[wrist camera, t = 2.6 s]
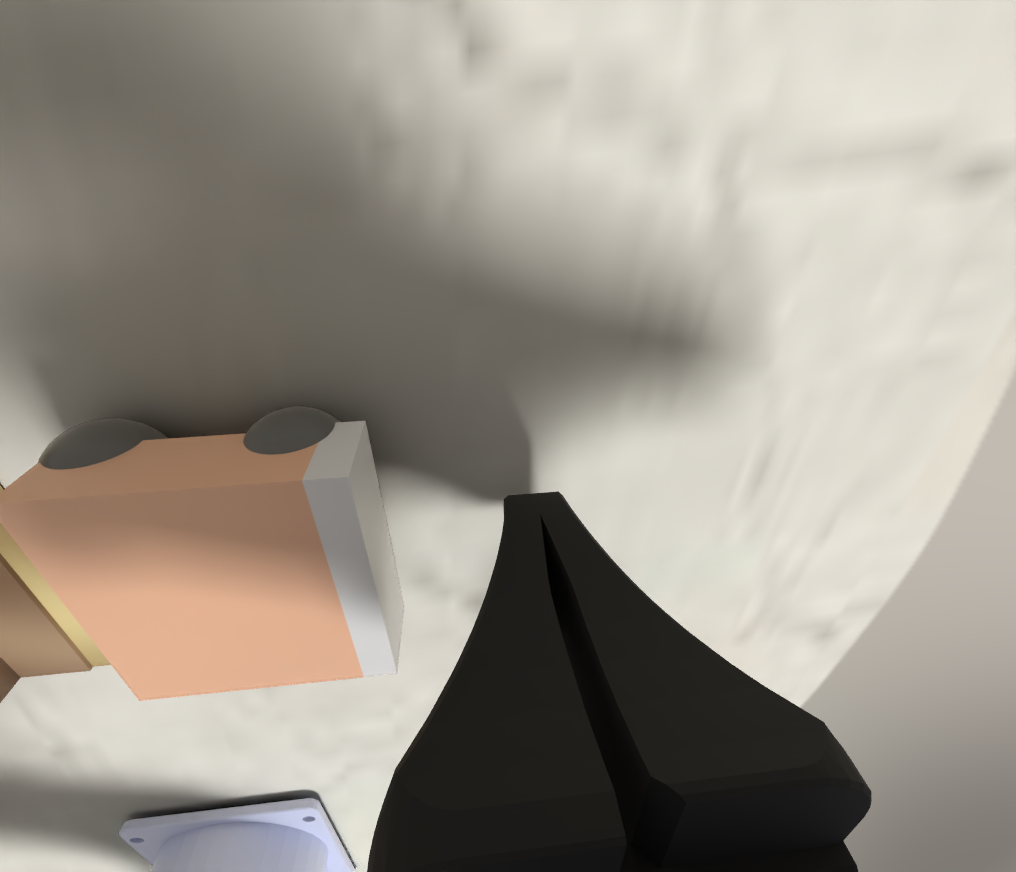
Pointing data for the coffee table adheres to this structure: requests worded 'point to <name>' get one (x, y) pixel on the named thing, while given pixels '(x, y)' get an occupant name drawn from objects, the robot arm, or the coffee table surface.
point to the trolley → (217, 551)
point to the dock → (36, 624)
